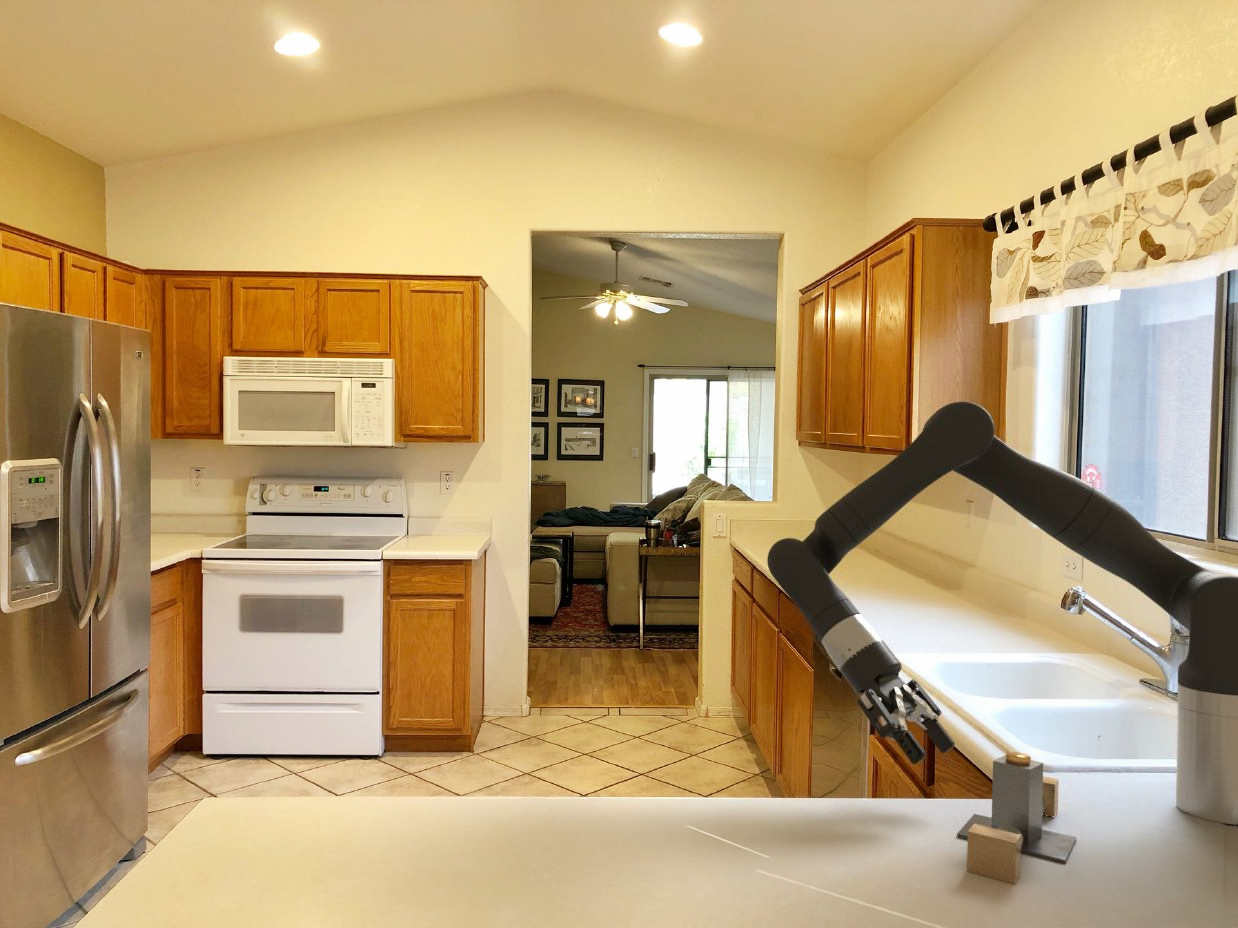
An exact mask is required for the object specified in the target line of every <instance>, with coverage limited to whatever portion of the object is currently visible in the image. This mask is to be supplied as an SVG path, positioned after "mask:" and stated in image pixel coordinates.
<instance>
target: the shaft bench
mask: <svg viewBox="0 0 1238 928" xmlns="http://www.w3.org/2000/svg"><path fill="white" fill-rule="evenodd" d="M1057 811H1058V812H1059V779H1058V778H1054V777H1049V776H1045V775H1043V799H1042V814H1043V815H1047V816H1055V814H1056V813H1057ZM1057 814H1058V813H1057ZM1057 814H1056V815H1057ZM1043 815H1042V816H1043ZM1047 816H1046V817H1047ZM1055 817H1056V816H1055ZM957 836H958V837H957ZM956 837H957V838H960V837H964V838H966V839H965V840H967V842H966V843H967V849H966V851H967V853H966V872H968V873H972V874H974V875H975V874H976V875H980V876H984V877H987V878H991V879H994V880H998V881H1002V882H1005V883H1010V884H1013V885H1016V884H1017V882H1018V880H1019V878H1020V877H1021V871H1022V870H1021V867H1022V854H1024V855H1029V856H1033V857H1036V858H1042V859H1044V860H1048V861H1052V862H1056V863H1057V862H1058V863H1061V864H1066V862H1067V861H1068V859H1069V857H1070V855H1071V852H1072V850H1073V848H1074V846H1075V844H1076V843H1077V836H1072V835H1070V834H1069V835H1068V834H1064V833H1059V832H1054V831H1050V830H1045V829H1043V828H1042V837H1040V838H1039V839H1037V840H1036V841H1034V842H1033V843H1031V844H1030V845H1025V844H1023V836H1022V834H1021V832H1020V831H1019V829H1018V828H1016V827H1015V826H1013V825H1010V824H1003V825H1001V826H1000V827H999V828H998V829H994V828H992V817H991V816H986V815H981V814H977V813H974V814H973V815H972V816H971V817H970V818H969V819H968V820H967V821H966V823H965V824H964V825H963V826H962V828H960V829H959V831H958V832H957V833H956ZM964 838H963V839H964Z"/></svg>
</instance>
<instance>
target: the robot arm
mask: <svg viewBox="0 0 1238 928" xmlns="http://www.w3.org/2000/svg"><path fill="white" fill-rule="evenodd" d="M952 471H953V472H954V473H956V474H958V475H960V476H962V477H964V478H966V479H967V480H970V481H971V482H973V483H975V484H977V485H979V486H980V487H983V488H984V489H986V490H987V491H988V492H990V493H992V494H993V495H995V496H996V497H998V498H999V500H1002V501H1003V502H1004V503H1005V504H1007V505H1008V506H1009V507H1010V508H1012V509H1013V510H1014V511H1016V512H1017V513H1018V514H1020V515H1021V516H1022V517H1024V518H1025V519H1027V520H1028V521H1029V522H1031V523H1032V524H1033V525H1034V526H1036V527H1038V528H1039V529H1040V530H1042V532H1045V534H1047V535H1049V536H1050V537H1052V538H1053V539H1054V540H1056V541H1057V542H1059V543H1060V544H1062V545H1064V546H1065V547H1066V548H1068V549H1069V550H1071V551H1073V552H1074V553H1076V554H1078V555H1079V556H1081V557H1083V558H1084V559H1085V560H1088V561H1089V562H1090V563H1092V564H1094V565H1096V566H1097V567H1099V568H1101V569H1102V570H1104V571H1106V572H1109V573H1111V574H1112V575H1114V576H1116V577H1118V578H1120V579H1121V580H1123V581H1125V582H1127V583H1128V584H1130V585H1132V586H1133V587H1134V588H1136V589H1137V590H1138V591H1140V592H1141V594H1143V595H1145V596H1146V597H1147V598H1149V599H1150V600H1151V601H1152V602H1154V604H1156V605H1158V606H1159V607H1160V608H1161V609H1162V610H1163V611H1165V612H1166V613H1167V614H1168V615H1169V616H1170V617H1172V618H1173V619H1174V620H1175V621H1176V622H1178V624H1180V625H1181V626H1182V627H1184V628H1185V629H1187V630H1189V637H1188V638H1189V639H1188V652H1187V656H1186V658H1185V660H1183V662H1181V663H1180V664H1179V665H1178V667H1177V703H1176V704H1177V714H1176V717H1177V724H1176V727H1177V729H1176V732H1177V733H1176V777H1175V778H1176V782H1175V783H1176V785H1175V787H1176V792H1175V797H1176V799H1175V805H1176V807H1177V809H1179V810H1180V811H1182V812H1184V813H1186V814H1188V815H1189V816H1193V817H1196V818H1198V819H1199V818H1200V819H1203V820H1206V821H1211V822H1216V823H1220V824H1227V825H1228V824H1229V825H1236V826H1238V576H1237V575H1232V574H1231V575H1230V574H1225V573H1219V572H1214V571H1212V570H1209V569H1207V568H1205V567H1202V566H1201V565H1198V564H1196V563H1195V562H1192V561H1191V560H1189V559H1188V558H1185V557H1183V556H1182V555H1180V554H1178V553H1177V552H1175V551H1173V550H1172V549H1170V548H1168V547H1167V546H1165V545H1164V544H1163V543H1162V542H1160V541H1159V540H1158V539H1156V538H1155V536H1153V535H1152V533H1151V532H1150V531H1148V530H1147V528H1145V527H1144V525H1143V524H1141V522H1139V520H1138V519H1137V518H1136V517H1135V516H1133V515H1134V514H1133V515H1132V513H1130V511H1129V510H1127V509H1126V508H1125V507H1124V506H1122V505H1121V504H1120V503H1118V502H1117V501H1115V500H1114V499H1113V498H1111V497H1110V496H1108V495H1107V494H1105V493H1103V492H1102V491H1101V490H1098V489H1097V488H1095V487H1094V486H1092V485H1091V484H1090V483H1087V481H1086V482H1085V481H1084V480H1082V479H1081V478H1078V477H1076V476H1074V475H1073V474H1070V473H1068V472H1065V471H1063V470H1061V469H1058V468H1056V467H1054V466H1052V465H1047V464H1046V463H1042V462H1040V461H1038V460H1035V459H1032V458H1030V457H1028V456H1026V455H1024V454H1022V453H1020V452H1019V451H1017V450H1016V449H1014V448H1012V447H1011V446H1010V445H1008V444H1007V443H1005V442H1004V441H1003V440H1001V438H999V437H997V436H996V435H995V423H994V420H993V418H992V416H991V414H990V413H989V412H988V411H987V410H986V409H985V408H984V407H983V406H981V405H979V404H977V403H974V402H972V401H971V402H970V401H955V402H950V403H948V404H945V405H943V406H941V408H939V409H937V410H936V411H935V412H934V413H933V414H932V415H931V416H930V417H929V418H928V419H927V420H926V422H925V423H924V425H923V428H922V431H921V433H919V435H918V436H917V437H916V438H915V439H914V440H913V441H912V442H911V443H910V444H909V445H908V446H907V447H906V448H905V449H903V451H902V452H900V453H899V454H898V455H897V456H896V457H894V458H893V459H892V460H891V461H889V462H888V463H886V465H884V466H883V467H881V468H880V469H879V470H878V471H876V472H875V473H873V474H872V475H871V476H869V477H868V478H866V479H865V480H863V481H862V482H860V483H859V484H857V486H855V487H854V488H852V489H851V490H850V491H849V492H847V493H845V494H844V495H843V496H842V497H841V498H840V499H838V500H836V502H834V504H832V505H831V506H829V508H827V509H826V510H825V511H823V512H822V513H821V514H820V515H819V516H818V517H817V519H816V520H815V523H814V529H813V531H811V533H810V534H808V535H807V537H805V539H803V540H801V539H798V538H793V537H787V538H786V537H785V538H782V539H779V540H778V541H776V542H775V543H774V544H773V545H772V546H771V547H770V549H769V550H768V554H767V560H766V561H767V568H768V570H769V572H770V574H771V575H772V577H773V579H774V580H775V581H776V583H778V585H779V586H780V587H781V589H782V590H783V592H785V594H787V596H788V597H789V599H791V601H792V602H793V603H794V605H795V606H796V607H797V608H798V609H799V610H800V613H801V614H802V615H803V617H804V619H805V621H806V623H807V624H808V626H809V627H810V629H811V630H812V631H813V633H814V634H815V636H816V637H817V638H818V640H819V641H820V642H821V644H822V645H823V647H824V649H825V650H826V651H825V652H826V653H827V655H828V656H829V658H830V659H831V660H832V662H833V664H834V665H835V666H836V668H837V669H838V670H839V671H840V672H839V673H841V674H842V676H843V677H844V679H845V680H846V681H847V682H848V684H849V685H850V687H851V689H853V691H854V692H855V694H856V695H857V696H859V698H857V699H856V703H857V704H858V706H859V707H860V709H861V711H863V713H864V715H865V716H866V717H867V719H868V720H869V722H870V723H871V725H872V727H873V728H874V729H875V731H876V732H877V734H878V735H879V736H880V738H882V739H885V738H887V737H888V738H889V739H890V740H892V742H893V741H895V742H896V744H897V745H898V746H899V747H900V749H901V750H902V752H903V753H904V754H905V755H906V757H907V759H908V760H909V761H910V762H911V764H913V765H917V764H920V762H921V761H923V760H924V759H925V758H926V757H927V753H926V751H925V750H924V748H923V747H922V745H921V744H920V743H919V741H918V740H917V739H916V737H915V736H914V734H913V733H912V732H911V730H908V726H907V721H908V722H910V723H913V722H914V723H916V724H917V725H918V726H919V727H920V728H922V729H923V730H924V732H925V733H926V735H927V736H928V737H929V739H930V740H931V741H932V743H933V745H935V746H936V747H937V749H938V751H940V753H942V754H945V753H947V752H949V751H950V750H951V749H953V748H954V747H955V742H954V740H953V738H952V737H951V736H950V735H949V734H948V732H947V730H946V729H945V728H944V727H943V726H942V724H941V723H940V721H939V720H940V718H939V716H941V715H942V710H941V709H940V708H939V706H938V705H937V704H936V703H935V702H934V700H933V699H932V697H930V696H929V694H928V693H927V691H926V690H925V689H924V688H923V687H922V686H921V684H920V683H919V682H918V680H916V679H915V678H912V679H911V680H910V681H908V682H907V683H906V682H905V681H903V680H902V679H901V678H900V676H899V674H900V673H901V671H902V666H903V665H902V663H901V662H900V661H899V659H898V658H897V657H896V655H895V654H894V653H893V651H892V650H891V649H890V647H889V646H888V645H887V643H886V642H885V641H884V640H883V639H882V637H881V636H880V635H879V634H878V632H877V630H876V629H875V628H874V627H873V625H872V624H870V623H869V622H868V621H867V620H866V619H865V618H864V616H863V615H862V614H861V612H860V611H859V610H858V608H857V607H856V606H855V605H854V603H852V600H850V599H849V597H848V596H847V595H846V594H845V593H844V592H843V591H842V590H841V589H840V588H839V586H837V584H835V582H834V581H833V579H832V578H831V576H830V574H831V572H833V570H834V569H836V567H837V566H838V565H839V564H840V563H841V561H842V560H843V559H844V557H846V555H847V554H848V553H849V552H851V551H852V550H853V549H855V548H856V547H858V546H859V545H860V544H861V543H862V542H864V541H865V540H866V539H867V538H869V537H870V536H872V534H874V533H875V532H876V531H877V530H879V529H880V528H881V527H882V526H883V525H885V523H887V522H888V521H889V520H890V519H891V518H892V517H893V516H894V515H896V514H897V513H898V512H899V511H900V510H901V509H902V508H904V507H905V506H906V505H907V504H908V503H910V502H911V500H913V499H914V498H915V497H916V496H917V495H919V494H920V493H922V492H923V491H924V490H925V489H926V488H929V486H931V485H932V484H934V483H935V482H936V481H938V480H939V479H941V478H943V477H944V476H946V475H947V474H949V473H951V472H952ZM879 719H880V721H879Z"/></svg>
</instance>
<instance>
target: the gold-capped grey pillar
mask: <svg viewBox="0 0 1238 928" xmlns="http://www.w3.org/2000/svg"><path fill="white" fill-rule="evenodd" d="M1031 758H1032V757H1031V755H1028V754H1027V753H1023V752H1016V751H1008V752H1006V753H1005V755H1003V756H1000V757H998V758H996V759H994V760H992V785H991V786H992V787H991V788H992V790H991V791H992V793H991V818H992V828H994V829H998V828H999V827H1000V826H1001V825H1003V824H1010V825H1013V826H1015V827H1016V828H1018V829H1019V831H1020V832H1021V834H1022V836H1023V844H1025V845H1030V844H1031V843H1033V842H1034V841H1036V840H1037V839H1039V838H1040V837H1042V829H1043V815H1042V799H1043V776H1044V762H1040V761H1036V760H1032V759H1031Z"/></svg>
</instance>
